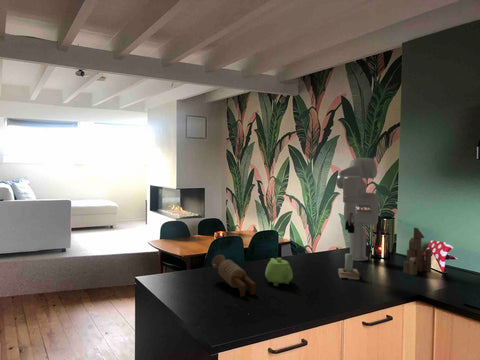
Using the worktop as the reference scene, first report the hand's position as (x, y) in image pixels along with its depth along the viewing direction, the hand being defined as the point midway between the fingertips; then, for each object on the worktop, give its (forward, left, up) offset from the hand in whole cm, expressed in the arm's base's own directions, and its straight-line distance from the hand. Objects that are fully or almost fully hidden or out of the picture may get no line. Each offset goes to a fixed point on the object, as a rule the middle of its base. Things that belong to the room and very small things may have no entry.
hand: (349, 231), depth 213 cm
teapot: (+17, -37, -25) cm, 48 cm away
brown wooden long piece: (+28, -60, -25) cm, 70 cm away
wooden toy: (-14, +40, -25) cm, 49 cm away
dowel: (0, 0, -24) cm, 24 cm away
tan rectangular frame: (0, 0, -24) cm, 24 cm away
